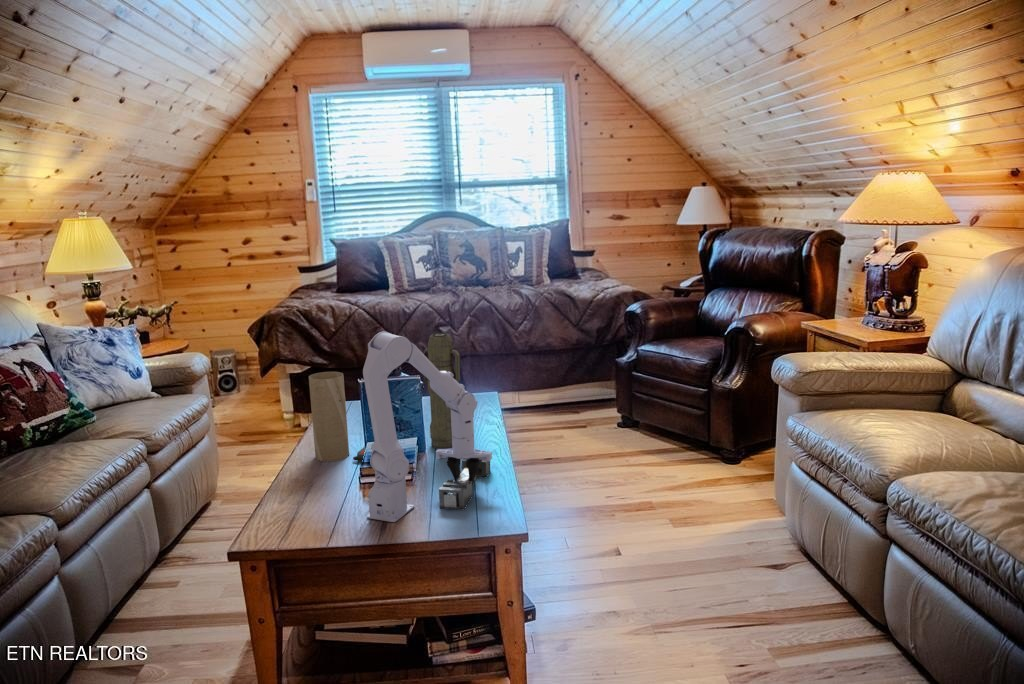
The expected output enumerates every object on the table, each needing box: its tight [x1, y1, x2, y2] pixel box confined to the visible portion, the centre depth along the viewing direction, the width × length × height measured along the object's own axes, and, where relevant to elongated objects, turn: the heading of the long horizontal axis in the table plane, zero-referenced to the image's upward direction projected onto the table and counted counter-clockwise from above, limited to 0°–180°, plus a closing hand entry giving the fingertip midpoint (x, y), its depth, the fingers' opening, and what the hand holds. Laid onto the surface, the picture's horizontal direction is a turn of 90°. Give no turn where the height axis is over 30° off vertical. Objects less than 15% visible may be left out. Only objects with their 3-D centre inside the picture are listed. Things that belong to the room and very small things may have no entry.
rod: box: [444, 468, 477, 507], centre depth 183 cm, size 18×3×3 cm, turn 168°
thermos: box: [422, 332, 461, 450], centre depth 220 cm, size 9×12×35 cm
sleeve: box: [438, 478, 474, 510], centre depth 179 cm, size 8×6×5 cm
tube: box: [308, 371, 350, 463], centre depth 214 cm, size 10×10×25 cm
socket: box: [461, 459, 491, 478], centre depth 197 cm, size 5×7×5 cm
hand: (465, 485), depth 187 cm, fingers closed on rod, 3 cm apart
